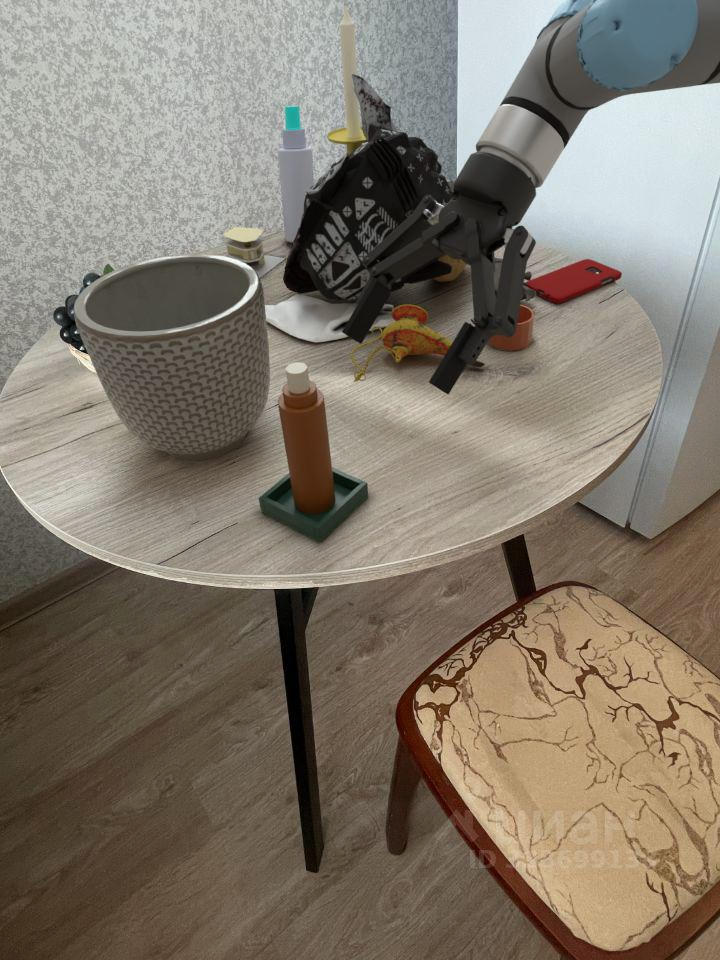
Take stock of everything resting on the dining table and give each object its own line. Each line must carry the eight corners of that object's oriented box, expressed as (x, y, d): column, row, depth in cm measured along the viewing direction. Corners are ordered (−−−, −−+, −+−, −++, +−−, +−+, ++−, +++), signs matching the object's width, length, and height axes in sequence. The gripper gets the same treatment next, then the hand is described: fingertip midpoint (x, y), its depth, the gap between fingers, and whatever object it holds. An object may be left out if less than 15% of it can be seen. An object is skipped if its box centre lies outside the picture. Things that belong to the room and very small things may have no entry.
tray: (368, 497, 75) (367, 482, 74) (320, 543, 70) (318, 528, 69) (310, 470, 79) (308, 456, 78) (261, 512, 74) (258, 497, 73)
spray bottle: (308, 244, 126) (299, 106, 115) (279, 242, 129) (267, 107, 118) (323, 237, 131) (315, 105, 120) (295, 236, 133) (285, 106, 122)
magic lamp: (484, 336, 98) (479, 406, 94) (357, 324, 99) (347, 393, 95) (491, 307, 92) (487, 381, 88) (356, 295, 93) (345, 368, 89)
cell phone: (558, 299, 105) (557, 305, 105) (624, 271, 110) (623, 277, 111) (521, 282, 110) (521, 287, 110) (587, 256, 115) (586, 262, 116)
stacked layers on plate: (211, 271, 123) (204, 240, 119) (239, 251, 129) (234, 221, 125) (259, 278, 119) (253, 247, 115) (285, 258, 125) (281, 227, 121)
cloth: (232, 330, 105) (229, 316, 104) (276, 291, 115) (274, 278, 113) (392, 357, 96) (391, 343, 95) (425, 313, 106) (425, 299, 104)
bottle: (338, 487, 76) (323, 355, 65) (332, 515, 72) (316, 381, 62) (298, 486, 76) (277, 355, 66) (290, 513, 73) (267, 380, 62)
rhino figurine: (543, 313, 105) (505, 317, 104) (509, 274, 115) (475, 277, 114) (547, 287, 102) (509, 291, 101) (513, 250, 112) (477, 253, 111)
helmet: (245, 264, 89) (407, 70, 83) (220, 226, 110) (347, 69, 104) (380, 382, 102) (527, 222, 97) (335, 327, 124) (453, 194, 118)
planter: (114, 414, 90) (64, 275, 78) (260, 377, 95) (235, 239, 83) (135, 508, 76) (79, 356, 64) (306, 458, 81) (284, 307, 68)
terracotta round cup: (538, 335, 99) (541, 310, 96) (518, 355, 95) (521, 328, 93) (499, 325, 102) (501, 299, 99) (478, 343, 98) (480, 317, 96)
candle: (360, 243, 128) (345, -4, 103) (401, 256, 122) (395, -2, 98) (321, 261, 122) (295, 6, 98) (362, 276, 117) (345, 9, 93)
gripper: (627, 223, 63) (500, 425, 66) (437, 167, 78) (341, 333, 81) (599, 175, 57) (461, 400, 60) (400, 126, 72) (298, 306, 75)
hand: (392, 362), depth 71 cm, fingers open, 13 cm apart
